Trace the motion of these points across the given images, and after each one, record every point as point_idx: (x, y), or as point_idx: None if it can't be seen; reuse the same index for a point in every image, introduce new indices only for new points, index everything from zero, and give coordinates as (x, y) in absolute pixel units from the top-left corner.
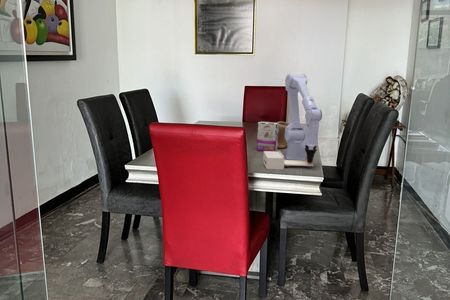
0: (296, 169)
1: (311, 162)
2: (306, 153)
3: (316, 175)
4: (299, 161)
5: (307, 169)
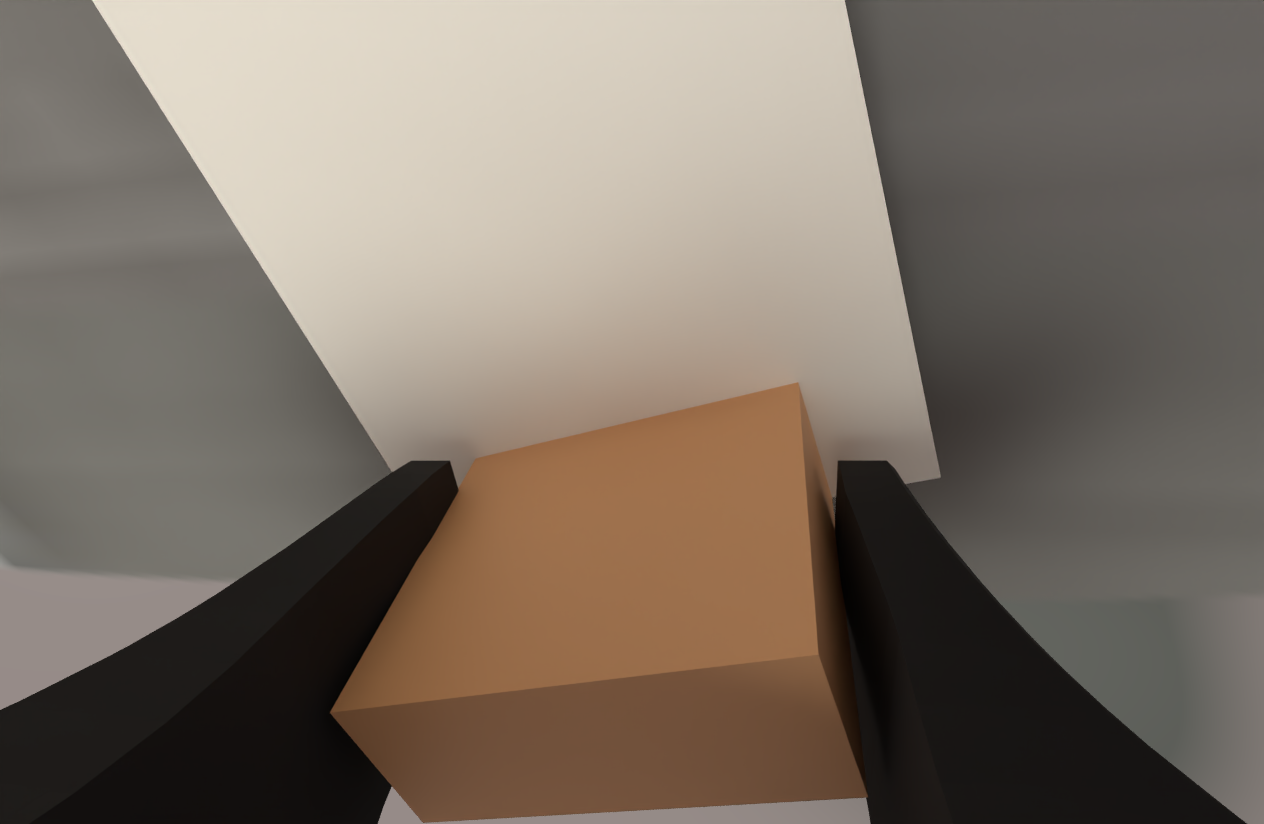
0: (125, 88)
1: None
2: (40, 694)
3: (40, 542)
4: (681, 137)
5: None
